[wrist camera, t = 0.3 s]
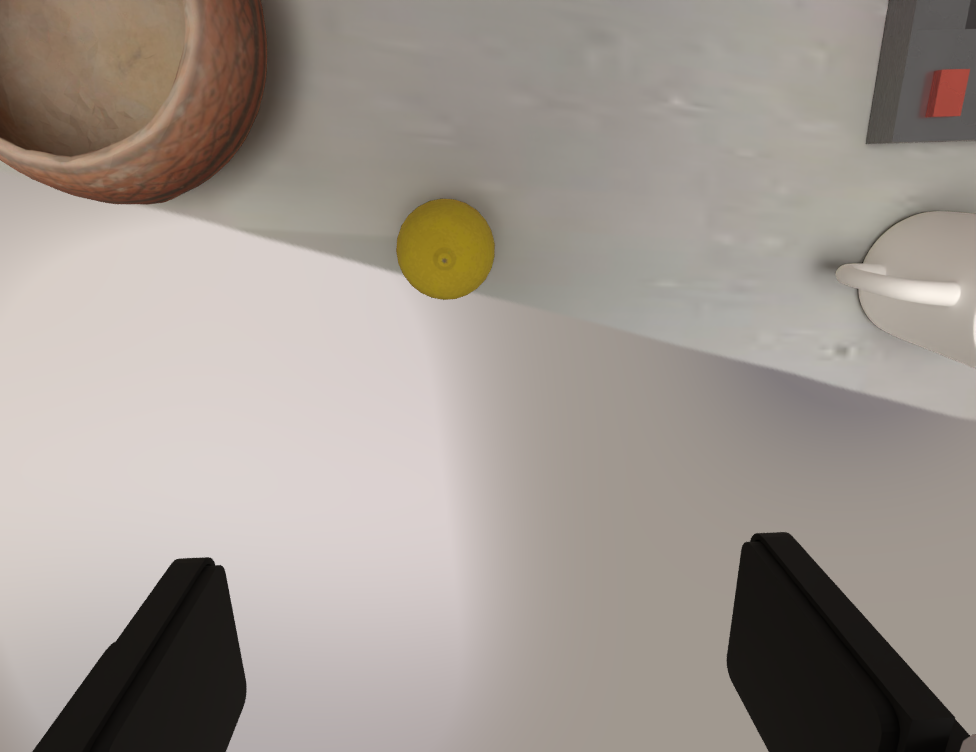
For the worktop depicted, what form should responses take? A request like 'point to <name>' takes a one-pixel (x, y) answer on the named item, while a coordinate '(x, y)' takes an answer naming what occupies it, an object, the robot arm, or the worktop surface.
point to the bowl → (128, 92)
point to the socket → (926, 73)
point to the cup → (923, 283)
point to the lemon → (445, 249)
